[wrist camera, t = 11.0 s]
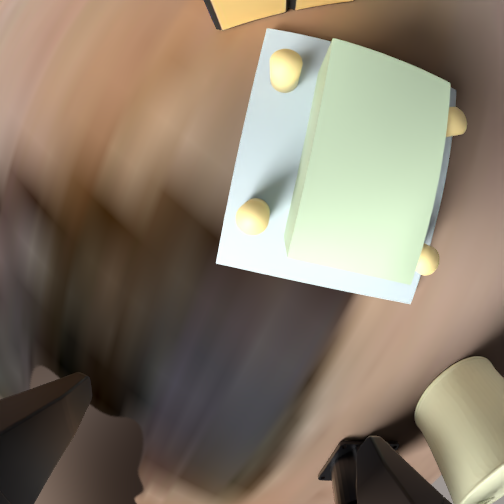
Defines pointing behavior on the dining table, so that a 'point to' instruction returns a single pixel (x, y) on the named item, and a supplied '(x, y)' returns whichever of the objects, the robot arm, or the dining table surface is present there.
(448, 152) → the chassis
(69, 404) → the robot arm
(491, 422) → the can
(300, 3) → the puzzle cube
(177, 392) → the dining table surface
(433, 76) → the pale green block
